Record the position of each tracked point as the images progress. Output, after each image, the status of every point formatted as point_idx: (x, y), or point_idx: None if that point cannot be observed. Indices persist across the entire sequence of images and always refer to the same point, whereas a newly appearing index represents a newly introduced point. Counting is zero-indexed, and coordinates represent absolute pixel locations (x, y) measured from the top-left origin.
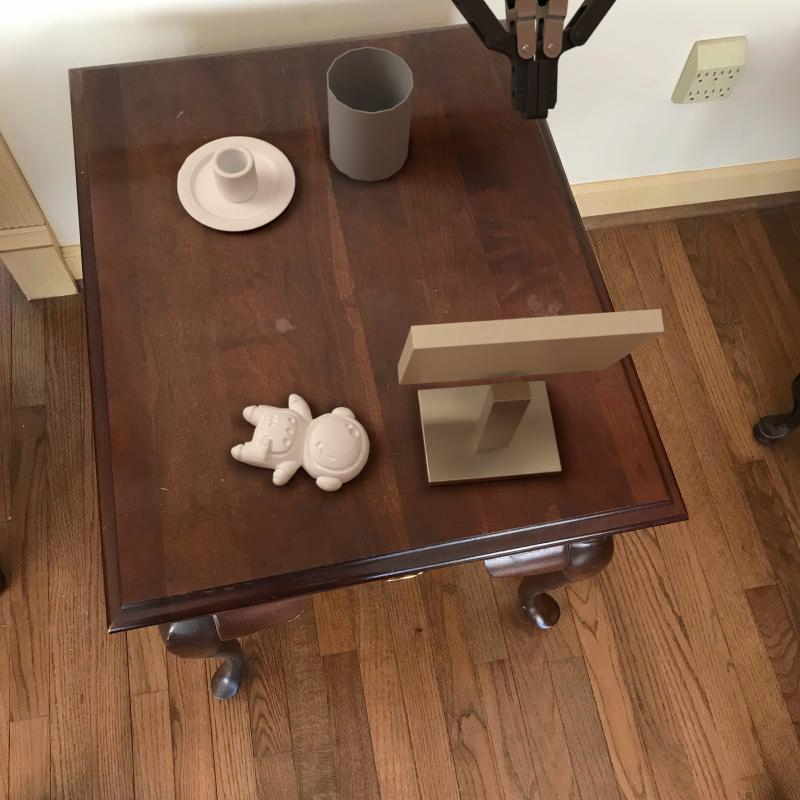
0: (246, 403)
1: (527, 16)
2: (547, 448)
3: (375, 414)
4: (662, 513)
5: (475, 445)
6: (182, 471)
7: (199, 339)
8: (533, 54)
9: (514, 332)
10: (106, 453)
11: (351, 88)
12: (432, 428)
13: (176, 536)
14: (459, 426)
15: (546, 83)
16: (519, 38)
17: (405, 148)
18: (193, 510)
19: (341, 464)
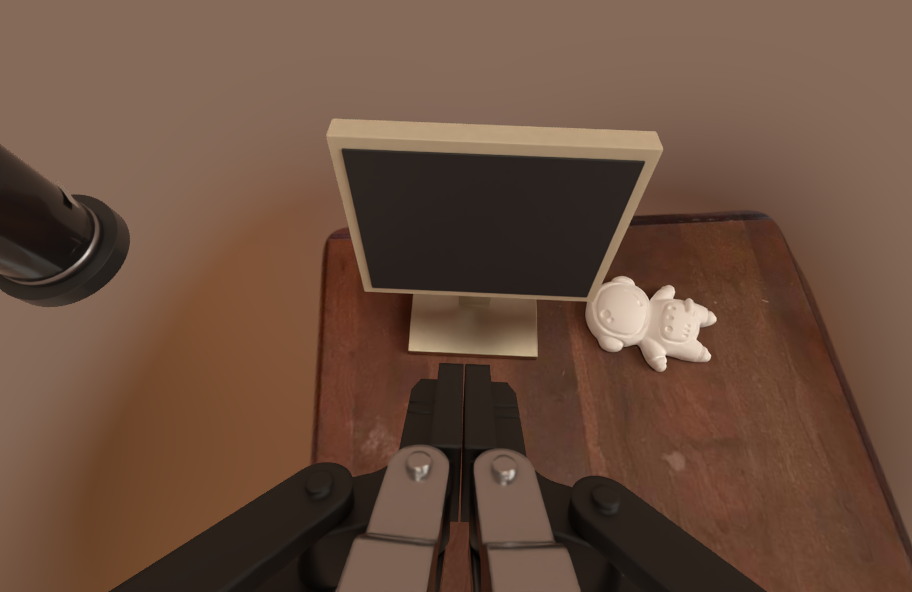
0: (704, 372)
1: (521, 545)
2: None
3: (577, 345)
4: (338, 229)
5: None
6: (753, 314)
7: (766, 454)
8: (482, 455)
9: (526, 132)
10: (827, 339)
11: None
12: (527, 316)
13: (745, 261)
14: (501, 315)
15: (441, 402)
16: (534, 499)
17: None
18: (736, 280)
19: (616, 287)
